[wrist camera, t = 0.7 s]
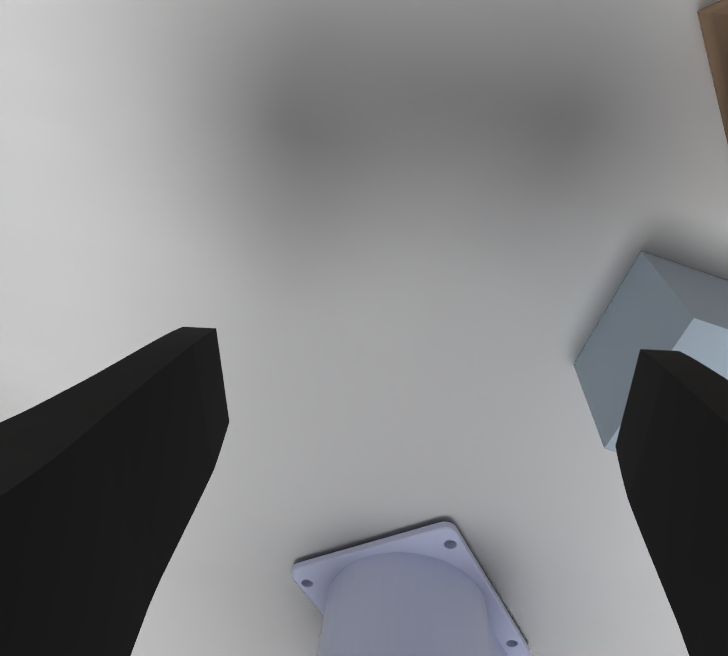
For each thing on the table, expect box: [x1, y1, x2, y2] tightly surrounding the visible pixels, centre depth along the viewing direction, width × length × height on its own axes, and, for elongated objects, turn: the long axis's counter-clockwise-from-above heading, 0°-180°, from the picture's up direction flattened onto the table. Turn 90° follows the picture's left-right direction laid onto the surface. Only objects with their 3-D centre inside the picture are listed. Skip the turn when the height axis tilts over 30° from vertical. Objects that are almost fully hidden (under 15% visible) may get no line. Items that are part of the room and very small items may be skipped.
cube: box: [574, 251, 728, 452], centre depth 18 cm, size 4×4×4 cm
